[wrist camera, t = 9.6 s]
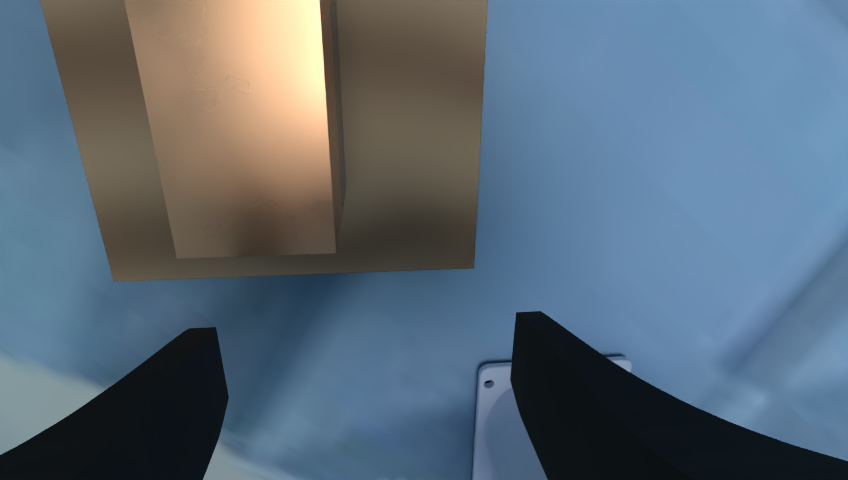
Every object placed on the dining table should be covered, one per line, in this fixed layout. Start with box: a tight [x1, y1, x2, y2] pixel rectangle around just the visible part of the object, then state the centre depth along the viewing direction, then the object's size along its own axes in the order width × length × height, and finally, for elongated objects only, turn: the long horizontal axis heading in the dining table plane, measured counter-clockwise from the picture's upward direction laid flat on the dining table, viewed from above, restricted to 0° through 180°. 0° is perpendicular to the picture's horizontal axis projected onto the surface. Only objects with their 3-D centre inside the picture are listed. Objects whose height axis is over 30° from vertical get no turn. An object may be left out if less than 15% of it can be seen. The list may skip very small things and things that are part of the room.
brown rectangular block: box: [124, 0, 346, 259], centre depth 14 cm, size 8×4×6 cm, turn 179°
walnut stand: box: [40, 0, 488, 282], centre depth 18 cm, size 15×14×2 cm
